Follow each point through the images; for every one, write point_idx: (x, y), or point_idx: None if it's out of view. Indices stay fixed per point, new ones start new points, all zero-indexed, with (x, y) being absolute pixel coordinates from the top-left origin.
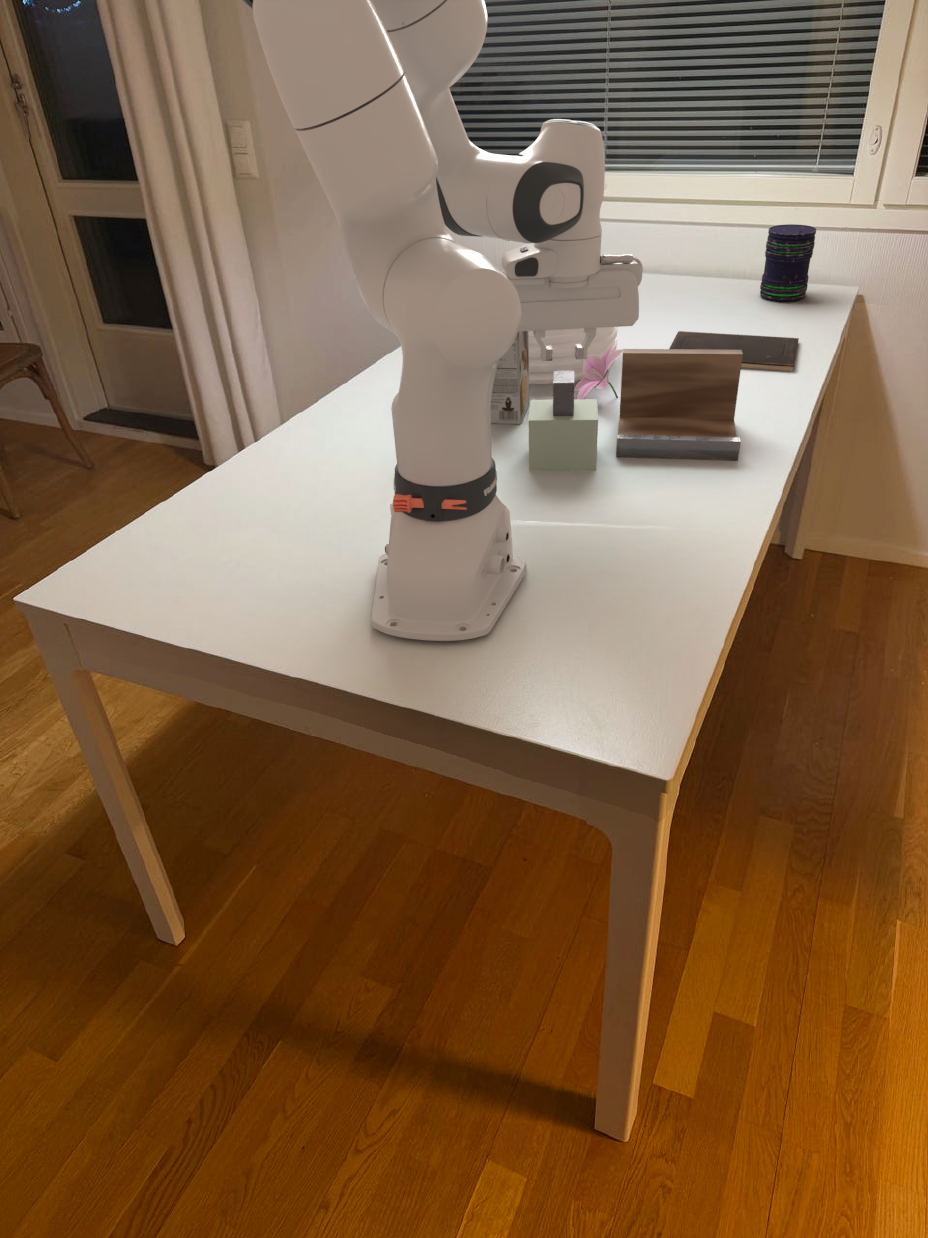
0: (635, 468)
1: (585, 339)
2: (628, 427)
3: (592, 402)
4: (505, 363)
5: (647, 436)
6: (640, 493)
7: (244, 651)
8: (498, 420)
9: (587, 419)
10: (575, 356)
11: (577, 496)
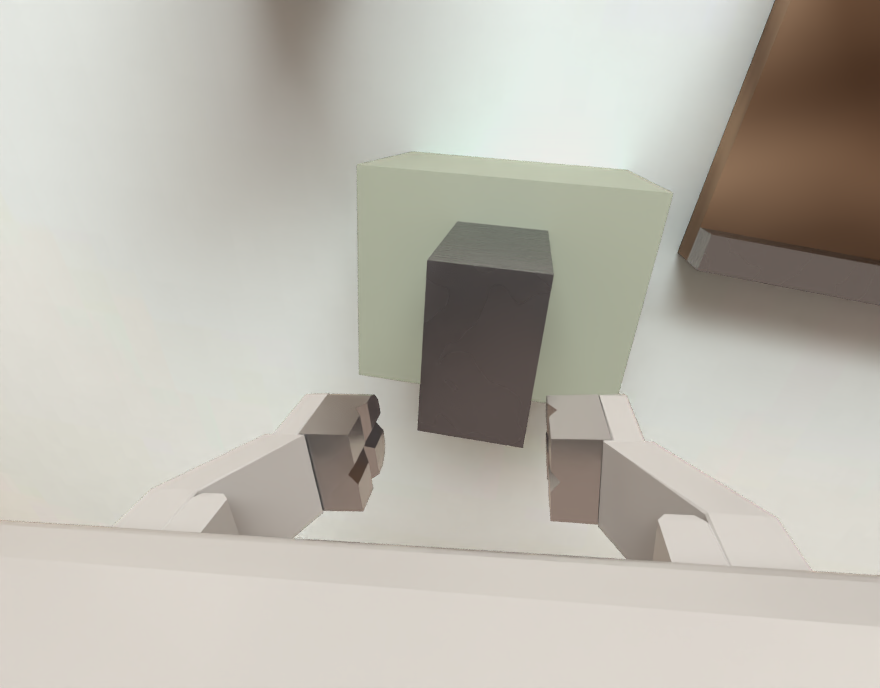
0: (710, 336)
1: (641, 527)
2: (810, 66)
3: (639, 234)
4: None
5: (822, 267)
6: None
7: None
8: None
9: None
10: (546, 422)
11: (514, 449)
